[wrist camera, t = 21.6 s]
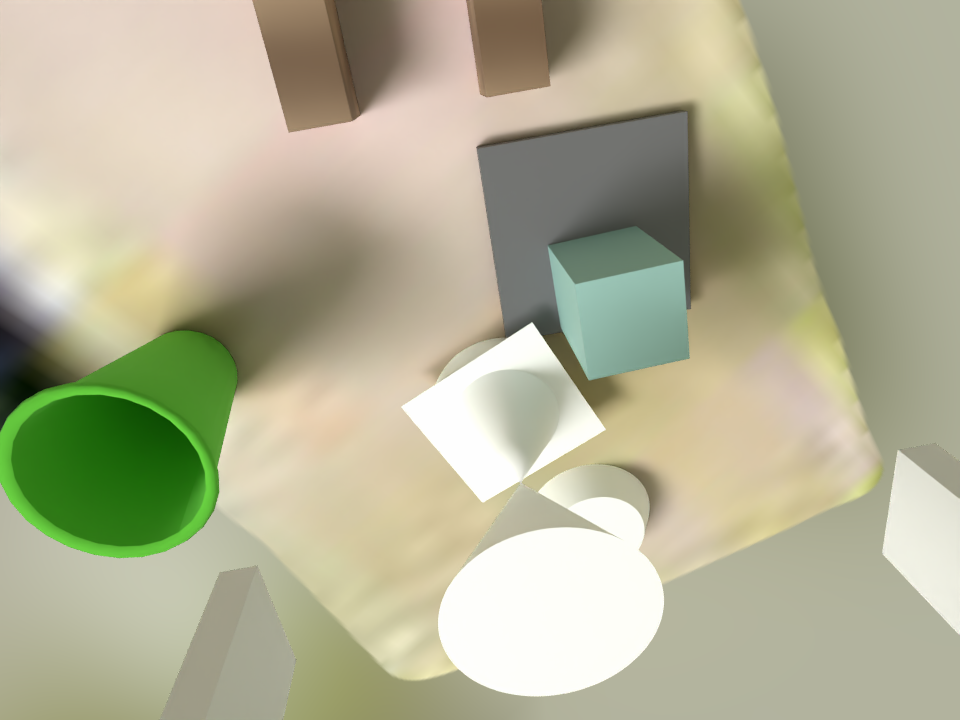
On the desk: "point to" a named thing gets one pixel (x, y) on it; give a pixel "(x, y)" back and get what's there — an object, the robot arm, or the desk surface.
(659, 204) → the rubber mat
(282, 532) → the desk surface
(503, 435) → the hourglass
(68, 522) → the cup
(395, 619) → the desk surface
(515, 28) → the parallel wooden bars
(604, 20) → the desk surface
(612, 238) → the teal block
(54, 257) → the desk surface
